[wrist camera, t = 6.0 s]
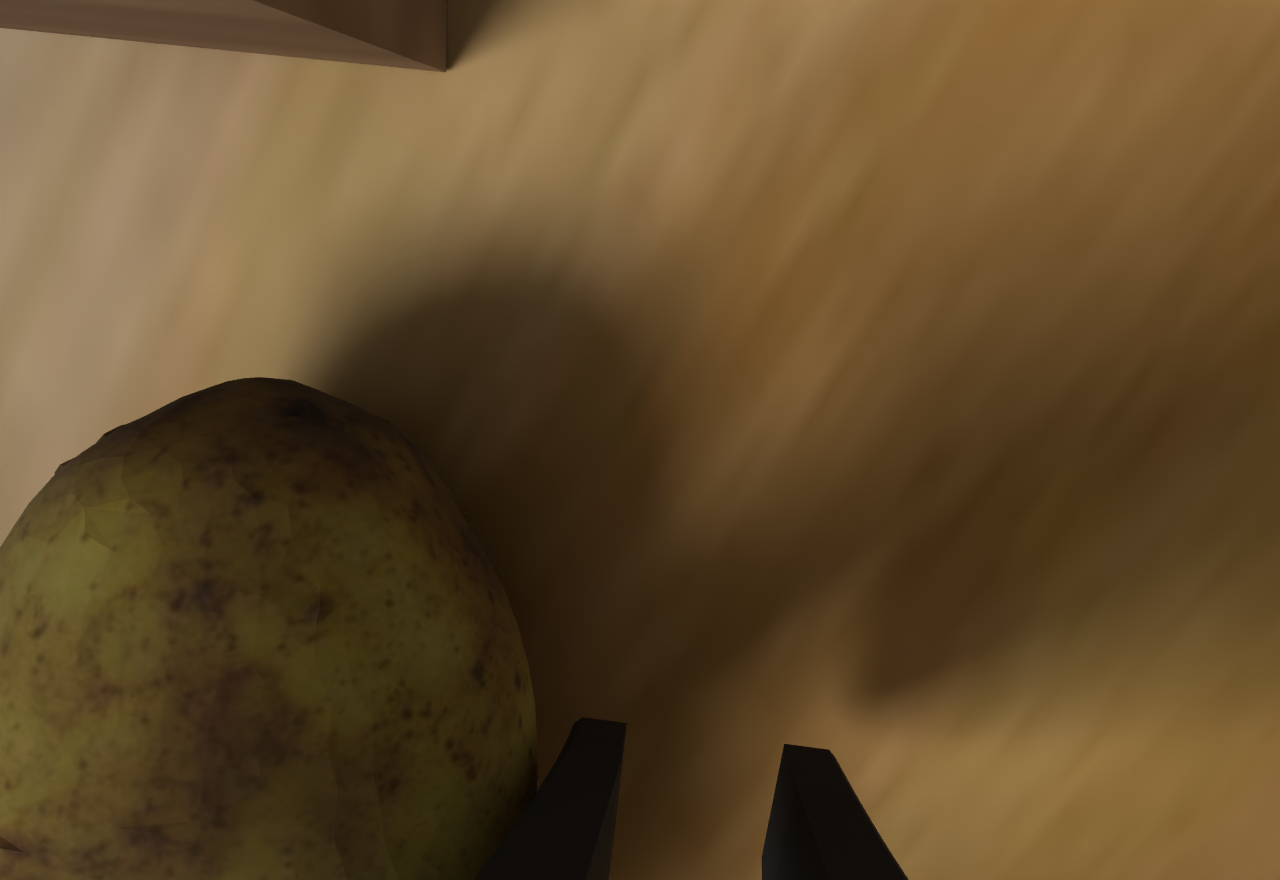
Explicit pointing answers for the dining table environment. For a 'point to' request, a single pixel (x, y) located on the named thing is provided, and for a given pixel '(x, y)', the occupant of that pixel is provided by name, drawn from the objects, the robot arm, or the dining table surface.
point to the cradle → (256, 26)
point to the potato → (256, 656)
